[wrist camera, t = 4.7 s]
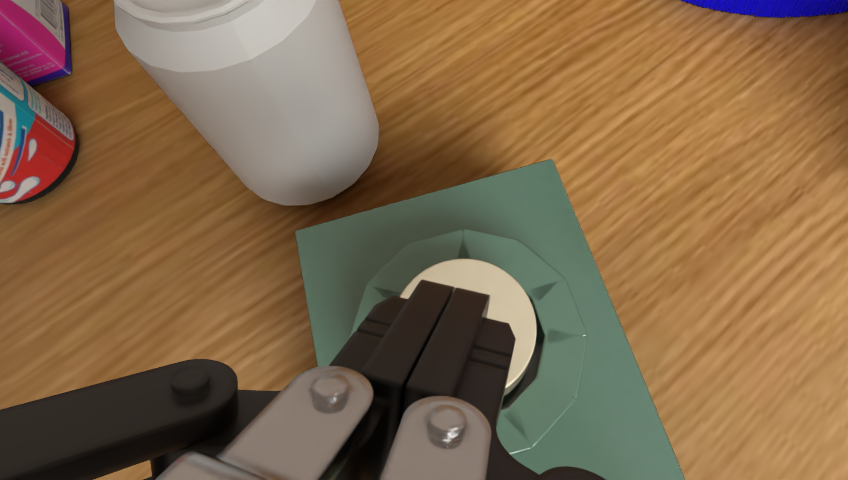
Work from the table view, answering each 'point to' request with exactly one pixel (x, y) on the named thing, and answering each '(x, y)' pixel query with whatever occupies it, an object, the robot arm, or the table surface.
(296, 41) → the can
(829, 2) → the steering wheel toy
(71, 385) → the table surface
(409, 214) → the button base
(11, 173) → the beverage can
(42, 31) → the supplement box
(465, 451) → the robot arm
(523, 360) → the round cream push button
